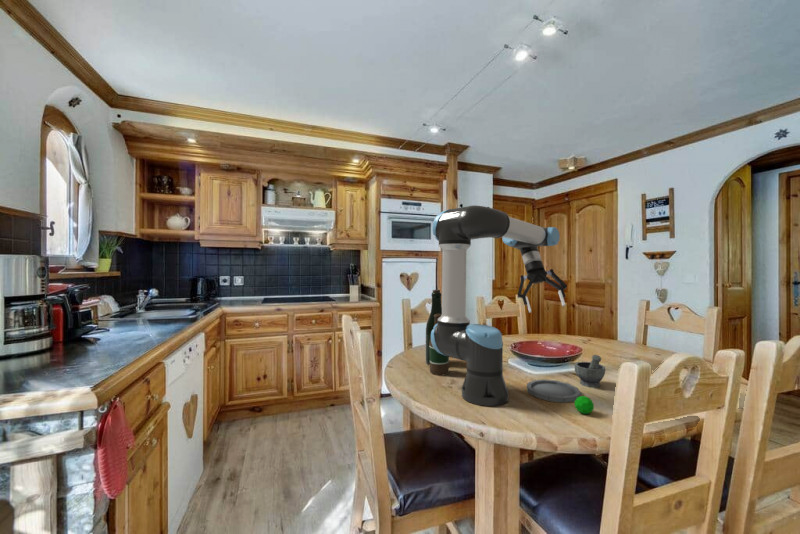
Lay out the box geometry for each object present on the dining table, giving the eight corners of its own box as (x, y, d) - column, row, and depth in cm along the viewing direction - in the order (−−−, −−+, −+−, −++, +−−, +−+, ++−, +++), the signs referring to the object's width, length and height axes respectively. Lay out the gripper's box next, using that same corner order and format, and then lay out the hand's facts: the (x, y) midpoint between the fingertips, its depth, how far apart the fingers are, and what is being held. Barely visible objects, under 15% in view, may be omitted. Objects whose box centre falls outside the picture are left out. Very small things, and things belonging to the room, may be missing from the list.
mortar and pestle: (570, 379, 127) (570, 348, 127) (596, 379, 126) (596, 348, 126) (584, 390, 116) (584, 356, 116) (612, 391, 115) (612, 356, 115)
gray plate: (568, 406, 103) (568, 402, 103) (518, 392, 115) (518, 387, 115) (587, 392, 114) (587, 388, 114) (540, 380, 126) (540, 376, 126)
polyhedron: (576, 407, 103) (576, 392, 103) (595, 412, 99) (595, 396, 99) (573, 413, 99) (572, 397, 99) (591, 418, 96) (591, 401, 96)
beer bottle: (439, 377, 132) (438, 316, 131) (425, 372, 138) (425, 314, 137) (452, 372, 136) (452, 314, 136) (438, 368, 142) (438, 312, 142)
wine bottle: (446, 359, 155) (445, 288, 155) (451, 366, 145) (450, 290, 144) (424, 360, 155) (423, 289, 154) (427, 367, 144) (426, 290, 144)
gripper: (561, 260, 150) (577, 305, 141) (504, 272, 155) (516, 316, 147) (563, 253, 143) (580, 300, 134) (504, 266, 149) (516, 312, 140)
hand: (547, 308), depth 141 cm, fingers open, 13 cm apart
